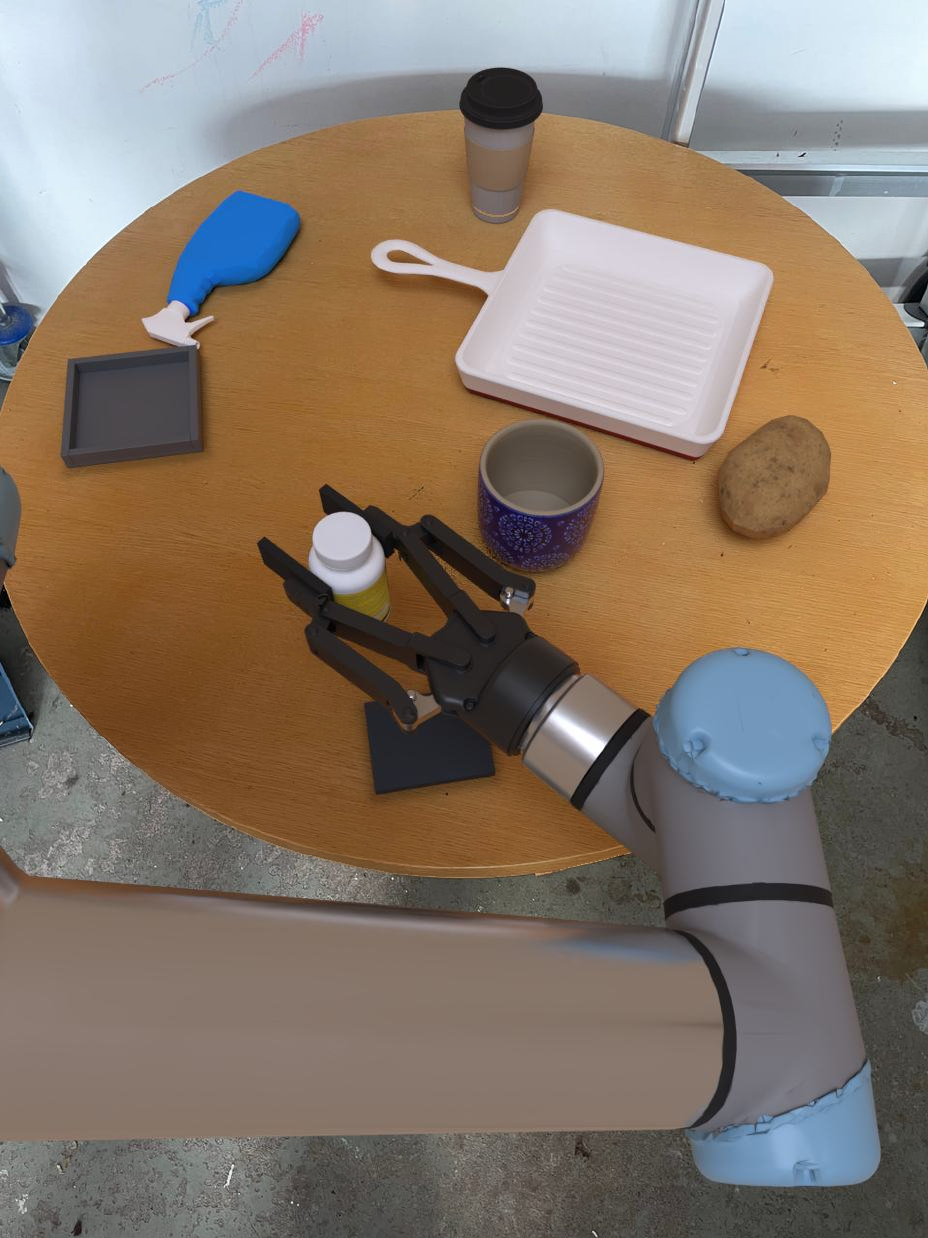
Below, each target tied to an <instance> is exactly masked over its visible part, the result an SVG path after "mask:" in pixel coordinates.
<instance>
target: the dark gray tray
mask: <svg viewBox="0 0 928 1238" xmlns="http://www.w3.org/2000/svg"><path fill="white" fill-rule="evenodd" d="M66 364H67V365H66V375H65V376H66V379H65V391H64V403H63V404H64V405H63V417H62V418H63V419H62V432H61V446H60V458H61V459H62V461H63V463H64V464H65V466H66V468H67V469H71V468H72V469H73V468H80V467H81V468H82V467H88V466H97V465H105V464H106V465H107V464H112V463H123V462H130V461H137V460H145V459H153V458H161V457H162V458H163V457H170V456H178V455H186V454H195V453H202V452H203V453H204V434H203V432H204V431H203V403H202V402H203V400H202V369H201V368H202V367H201V366H202V365H201V356H200V353H199V349H197V346H196V345H189V346H180V347H179V346H173V347H164V348H155V349H146V350H136V351H128V352H127V351H126V352H118V353H108V354H100V355H99V354H98V355H90V356H83V357H75V358H68V359H67V363H66Z"/></svg>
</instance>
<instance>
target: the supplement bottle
mask: <svg viewBox="0 0 928 1238" xmlns="http://www.w3.org/2000/svg"><path fill="white" fill-rule="evenodd" d="M311 539H312V546H311V548H310V550H309V552H308V553H309V554H308V560H307V564H308V570H309V571H310V572H312V573H313V574H314V575H316V576H317V577H318V578H320V579H321V580H322V581H324V582H325V583H326V584H327V585H329V586H330V587H331V588H332V592H333V596H334V600H335V602H336V603H338V604H341V605H343V606H346V607H348V608H351V609H353V610H356V611H358V612H361V613H363V614H365V615H368V616H370V617H373V618H375V619H378V620H380V621H383V622H385V623H386V622H387V620H388V618H389V616H390V614H391V609H392V599H391V589H390V584H389V576H388V569H387V561H386V557H385V555H384V551H383V548H382V546H381V544H380V542H379V541H378V540H377V538H376V537H375V536H373V535H372V534H371V529H370V527H369V525H368V523H367V522H366V521H365V520H364V519H363V518H362V517H360V516H359V515H357V514H354V513H350V512H337V513H333V514H331V515H326V516H325V517H323V518H322V519H321V520H319V521H318V522H317V523H316V525H315V527H314V529H313V532H312V538H311Z"/></svg>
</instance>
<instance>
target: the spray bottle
mask: <svg viewBox="0 0 928 1238" xmlns="http://www.w3.org/2000/svg"><path fill="white" fill-rule="evenodd" d="M301 223H302V221H301V215H300V214H299V212H298V211H297V210H296V209H295V208H294V207H293V206H292V205H290V204H289V203H287V202H282V201H279V200H275V199H271V198H269V197H266V196H265V197H264V196H261V195H257V194H254V193H251V192H247V191H244V190H241V189H240V190H239V189H238V190H236V191H235V192H233V193H232V194H230V195H229V196H228V197H226V198H225V199H224V200H223V201H222V202H221V203H220V204H219V205H217V207H216V208H215V209H214V210H213V211H212V212H211V213H210V214H209V215H208V216H207V217H206V218H205V219H204V221H203V222H201V223H200V225H199V227H197V229H196V230H195V232H194V233H193V235H192V236H191V237H190V239H189V241H187V243H186V245H185V247H184V249H183V250H182V251H181V253H180V255H179V257H178V260H177V263H176V265H175V269H174V272H173V274H172V278H171V282H170V286H169V289H168V294H167V298H166V302H167V304H168V306H167V307H163V308H162V309H161V310H160V311H159V312H157V313H156V314H154V315H152V316H148V317H142V318H141V322H142V325H143V327H144V329H145V330H146V332H147V333H148V335H149V336H150V337H151V338H154V339H156V340H159V341H161V342H165V343H168V344H170V345H174V346H175V347H180V346H189V345H196V346H197V349H198V350H199V349H200V347H201V343H200V341H199V340H196V339H194V338H192V335H193V334H194V333H195V332H196V331H198V330H200V329H201V328H203V327H204V326H206V325H207V324H208V323H210V322H213V321H214V320H215V317H214V315H210V316H207V317H203V318H201V319H198V320H194V321H192V322H185V321H186V320H187V318H188V317H194V316H196V315H197V314H198V312H199V310H200V309H199V308H200V305H201V304H202V303H204V302H205V299H206V297H207V295H209V294H211V291H212V289H213V288H215V287H218V286H219V287H220V286H221V287H223V286H224V287H227V286H228V287H230V286H231V287H232V286H237V285H243V284H250V283H254V282H255V281H257V280H259V279H261V278H263V277H265V276H267V275H268V274H269V273H270V272H271V271H272V269H273V268H275V266H276V265H277V264H278V263H279V261H280V260H281V259H282V258H283V257H284V255H285V254H286V252H287V250H288V248H289V247H290V245H291V243H292V242H293V240H294V239H295V237H296V235H297V234H298V231H300V230H299V229H300V228H301V227H300V226H301Z"/></svg>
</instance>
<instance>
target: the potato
mask: <svg viewBox="0 0 928 1238" xmlns="http://www.w3.org/2000/svg"><path fill="white" fill-rule="evenodd" d="M831 451H832V450H831V448H830V445H829V442H828V440H827V439H826V437H825V435H824V433H823V431H822V430H820V429H819V428H818V427H817V426H816V425H815V424H813V423H812V421H809V419H807V418H805V417H801V416H798V415H794V414H788V415H784V416H780V417H777V418H772V419H771V420H769V421H768V422H767V423H765V424H763V425H762V426H761V427H759V428H758V429H757V430H755V431H754V432H752V433H751V434H750V435H748V436H747V437H746V438H745V439H744V440H742V441H741V442H740V443H739V444H737V445H736V446H735V447H734V448H732V449H731V450H730V451H728V453H727V455H726V457H725V458H724V460H723V462H722V463H721V465H720V467H719V469H718V498H719V508H720V513H721V516H722V519H723V520H724V522H725V523H726V524H727V525H728V527H730V529H731V530H732V531H733V532H735V533H738V534H741V535H743V536H745V537H748V538H751V539H769V538H775V537H778V536H780V535H782V534H785V533H788V532H790V531H791V530H792V529H794V528H795V527H796V526H798V525H800V523H801V522H802V521H803V520H804V519H805V518H806V517H807V516H808V515H809V514H810V513H811V511H812V510H813V509H814V508H815V507H816V506H817V504H818V503H819V502H820V501H821V499H823V498H824V497H825V495H826V494H827V493H828V491H829V484H830V480H831V479H830V478H831V461H832V452H831Z"/></svg>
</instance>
